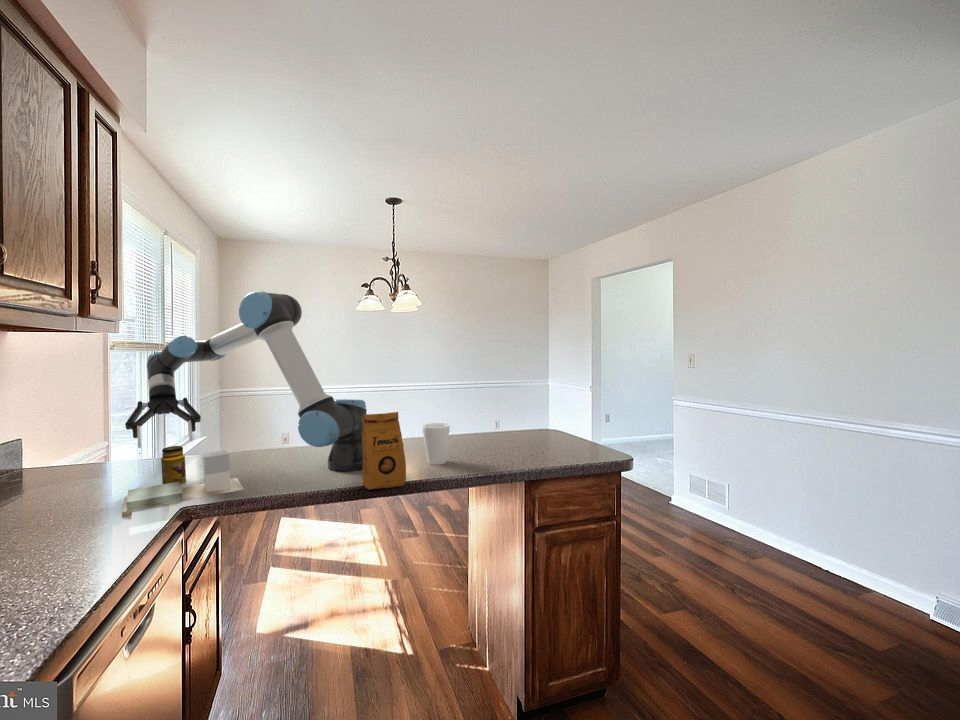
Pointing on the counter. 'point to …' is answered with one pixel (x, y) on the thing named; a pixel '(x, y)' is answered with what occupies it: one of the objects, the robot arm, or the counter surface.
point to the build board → (192, 494)
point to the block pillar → (216, 470)
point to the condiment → (173, 465)
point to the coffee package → (383, 451)
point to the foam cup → (436, 442)
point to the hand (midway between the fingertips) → (166, 442)
